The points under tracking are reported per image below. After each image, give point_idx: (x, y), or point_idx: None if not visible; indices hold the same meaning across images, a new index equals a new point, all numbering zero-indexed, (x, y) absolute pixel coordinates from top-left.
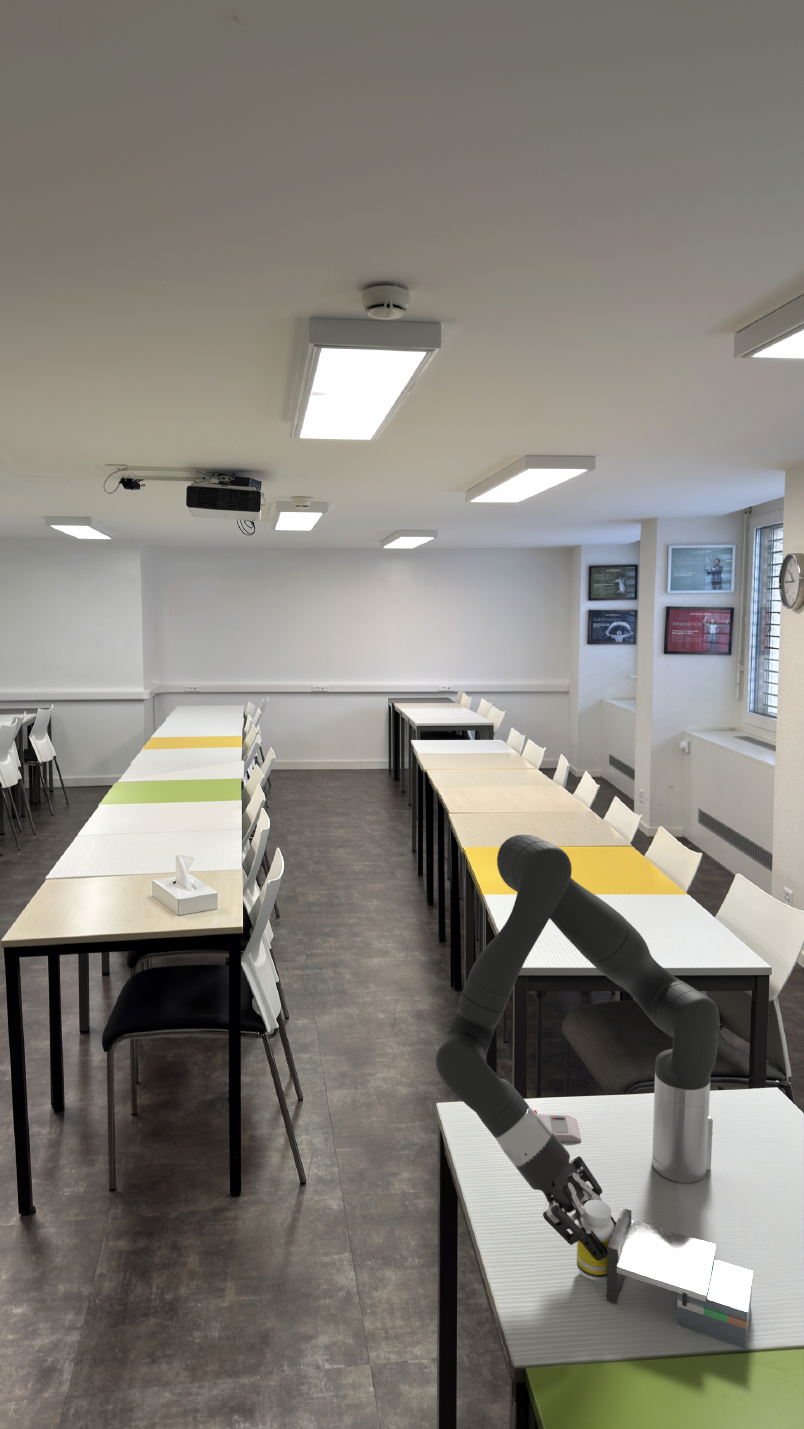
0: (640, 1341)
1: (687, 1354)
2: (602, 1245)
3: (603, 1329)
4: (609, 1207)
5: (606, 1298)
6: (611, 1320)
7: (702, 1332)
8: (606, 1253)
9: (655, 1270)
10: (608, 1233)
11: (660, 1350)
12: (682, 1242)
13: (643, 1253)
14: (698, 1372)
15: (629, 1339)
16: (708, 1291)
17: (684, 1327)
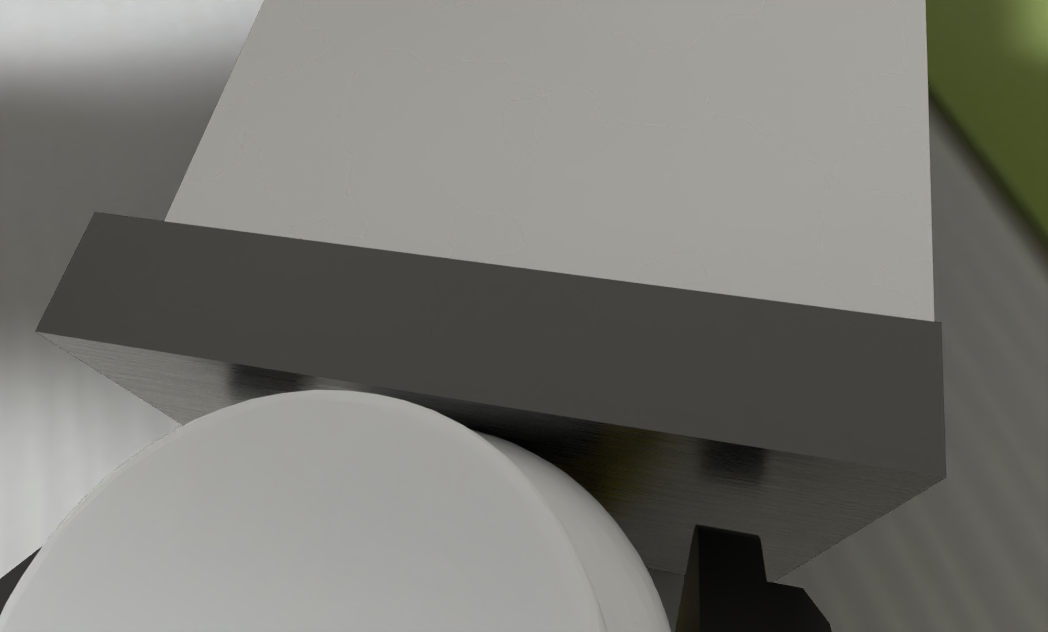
0: (984, 353)
1: (946, 125)
2: (730, 588)
3: (1009, 600)
4: (215, 420)
5: None
6: (895, 545)
7: None
8: (756, 539)
9: (819, 61)
10: (566, 494)
11: (993, 246)
12: None
13: (617, 165)
14: (1039, 79)
15: (1005, 419)
16: None
17: None
